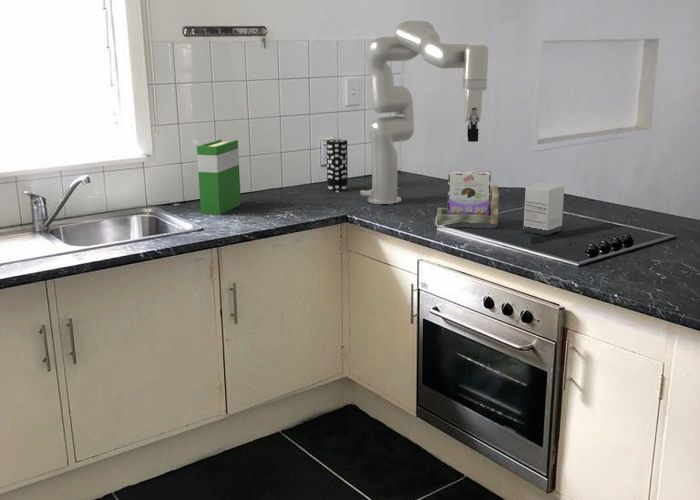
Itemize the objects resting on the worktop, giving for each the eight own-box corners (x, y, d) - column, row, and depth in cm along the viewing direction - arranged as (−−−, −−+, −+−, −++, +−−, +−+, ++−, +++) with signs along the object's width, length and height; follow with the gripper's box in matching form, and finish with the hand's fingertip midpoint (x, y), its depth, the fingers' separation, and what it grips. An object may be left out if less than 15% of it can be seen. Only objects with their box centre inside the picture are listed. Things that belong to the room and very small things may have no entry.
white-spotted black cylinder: (347, 192, 303) (347, 142, 298) (326, 192, 303) (326, 142, 298) (347, 188, 311) (347, 139, 306) (327, 188, 311) (326, 139, 306)
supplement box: (537, 226, 246) (540, 181, 242) (562, 231, 240) (565, 185, 236) (522, 232, 240) (524, 185, 236) (546, 237, 234) (550, 189, 230)
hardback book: (222, 203, 285) (219, 139, 278) (240, 204, 283) (237, 140, 276) (200, 213, 268) (196, 146, 262) (219, 214, 266) (216, 146, 260)
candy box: (489, 219, 253) (491, 170, 248) (489, 223, 247) (491, 173, 242) (448, 217, 255) (449, 169, 251) (446, 221, 250) (448, 172, 245)
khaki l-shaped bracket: (435, 227, 247) (435, 191, 243) (435, 218, 258) (436, 184, 255) (497, 229, 244) (498, 192, 241) (495, 220, 255) (496, 185, 252)
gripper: (462, 83, 247) (460, 135, 252) (463, 87, 231) (461, 143, 235) (485, 83, 246) (483, 136, 251) (487, 87, 230) (485, 143, 234)
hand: (472, 139), depth 243 cm, fingers open, 9 cm apart
